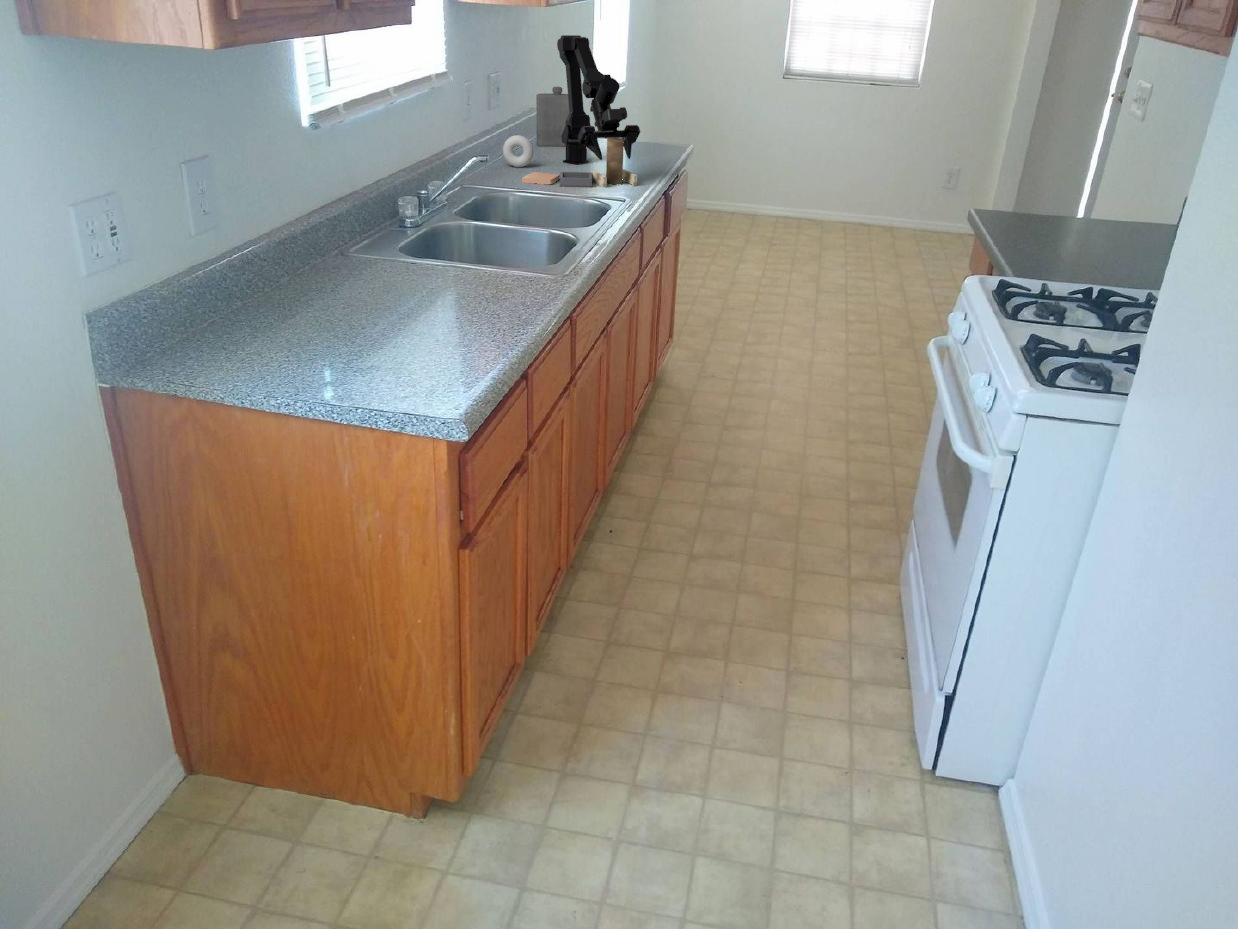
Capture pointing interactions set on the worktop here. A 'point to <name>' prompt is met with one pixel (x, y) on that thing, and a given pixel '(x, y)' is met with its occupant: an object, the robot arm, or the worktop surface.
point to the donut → (524, 144)
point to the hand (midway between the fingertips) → (615, 158)
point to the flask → (551, 118)
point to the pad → (540, 178)
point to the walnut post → (614, 160)
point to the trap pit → (576, 179)
